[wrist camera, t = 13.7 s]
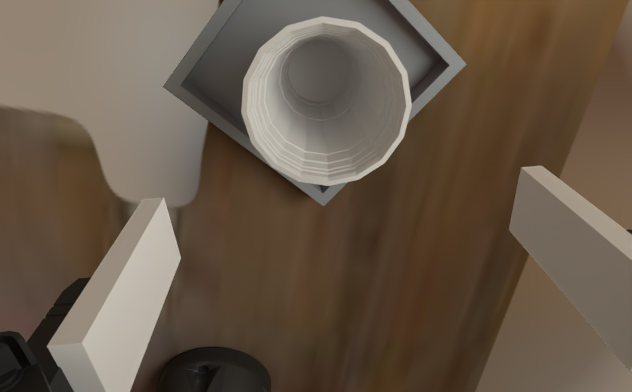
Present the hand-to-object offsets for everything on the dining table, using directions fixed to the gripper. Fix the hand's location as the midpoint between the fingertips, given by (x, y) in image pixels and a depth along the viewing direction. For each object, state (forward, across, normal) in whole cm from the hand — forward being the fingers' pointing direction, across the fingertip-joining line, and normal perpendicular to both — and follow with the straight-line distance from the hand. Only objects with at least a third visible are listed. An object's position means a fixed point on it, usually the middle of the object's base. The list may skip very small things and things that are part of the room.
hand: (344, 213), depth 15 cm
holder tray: (+25, 0, 0) cm, 25 cm away
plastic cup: (+24, 0, 0) cm, 24 cm away
